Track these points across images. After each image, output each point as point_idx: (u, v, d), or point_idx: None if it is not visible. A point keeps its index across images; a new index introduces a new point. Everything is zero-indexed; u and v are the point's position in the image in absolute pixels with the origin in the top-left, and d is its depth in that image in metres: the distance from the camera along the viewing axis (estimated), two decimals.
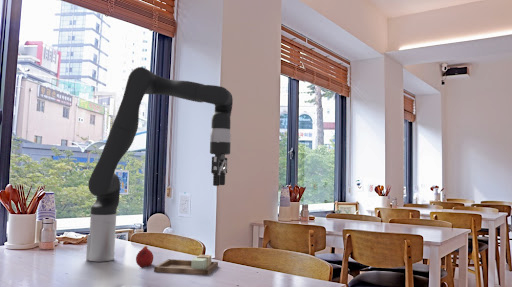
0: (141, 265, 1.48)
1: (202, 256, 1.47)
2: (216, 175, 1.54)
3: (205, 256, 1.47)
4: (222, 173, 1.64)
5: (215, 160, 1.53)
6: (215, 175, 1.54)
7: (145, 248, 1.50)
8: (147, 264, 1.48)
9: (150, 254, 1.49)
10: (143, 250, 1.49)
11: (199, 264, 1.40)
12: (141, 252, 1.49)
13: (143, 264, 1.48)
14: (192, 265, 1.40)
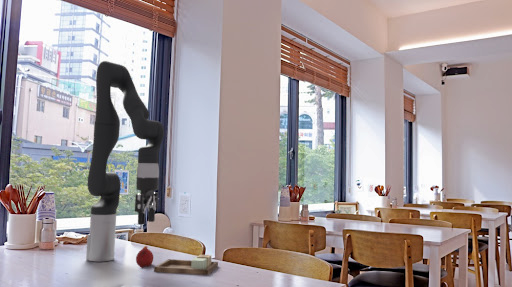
0: (141, 265, 1.48)
1: (202, 256, 1.47)
2: (141, 213, 1.46)
3: (205, 256, 1.47)
4: (151, 209, 1.55)
5: (139, 198, 1.45)
6: (139, 213, 1.46)
7: (145, 248, 1.50)
8: (147, 264, 1.48)
9: (150, 254, 1.49)
10: (143, 250, 1.49)
11: (199, 264, 1.40)
12: (141, 252, 1.49)
13: (143, 264, 1.48)
14: (192, 265, 1.40)
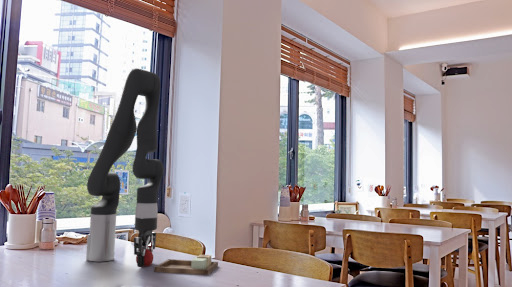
0: None
1: (202, 256, 1.47)
2: (140, 256, 1.46)
3: (205, 256, 1.47)
4: None
5: (137, 242, 1.44)
6: (139, 256, 1.46)
7: None
8: (147, 264, 1.48)
9: (150, 254, 1.49)
10: None
11: (199, 264, 1.40)
12: None
13: None
14: (192, 265, 1.40)
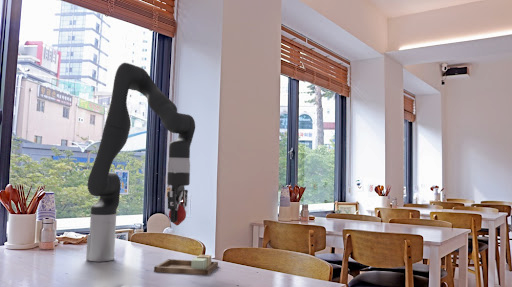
0: None
1: (202, 256, 1.47)
2: (173, 211, 1.43)
3: (205, 256, 1.47)
4: None
5: (171, 195, 1.41)
6: (172, 211, 1.43)
7: None
8: (180, 219, 1.46)
9: (183, 209, 1.46)
10: None
11: (199, 264, 1.40)
12: None
13: None
14: (192, 265, 1.40)
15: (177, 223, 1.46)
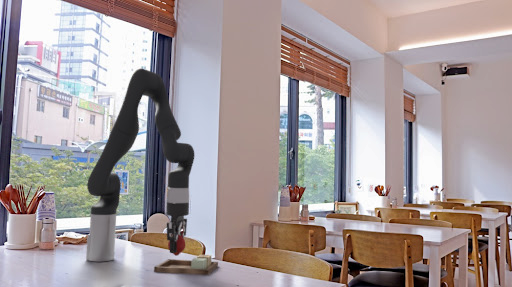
0: None
1: (202, 256, 1.47)
2: (173, 242, 1.43)
3: (205, 256, 1.47)
4: None
5: (170, 227, 1.41)
6: (172, 242, 1.43)
7: None
8: (180, 250, 1.45)
9: (182, 240, 1.46)
10: None
11: (199, 264, 1.40)
12: None
13: None
14: (192, 265, 1.40)
15: (176, 253, 1.46)
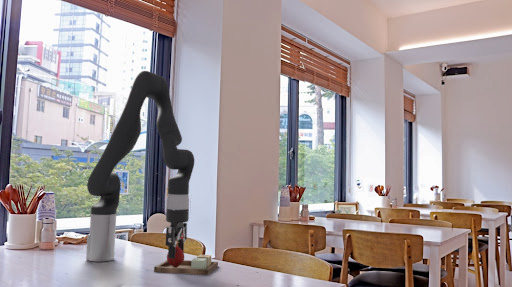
0: (173, 263, 1.44)
1: (202, 256, 1.47)
2: (171, 247, 1.41)
3: (205, 256, 1.47)
4: (180, 240, 1.51)
5: (170, 231, 1.40)
6: (170, 247, 1.41)
7: (176, 246, 1.46)
8: (179, 262, 1.45)
9: (181, 252, 1.46)
10: None
11: (199, 264, 1.40)
12: None
13: (174, 262, 1.44)
14: (192, 265, 1.40)
15: (176, 266, 1.45)
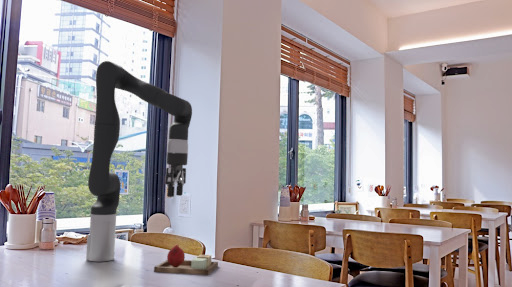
0: (173, 264, 1.44)
1: (202, 256, 1.47)
2: (170, 186, 1.54)
3: (205, 256, 1.47)
4: (180, 183, 1.64)
5: (169, 171, 1.53)
6: (169, 186, 1.54)
7: (176, 246, 1.46)
8: (179, 262, 1.45)
9: (181, 252, 1.46)
10: (175, 248, 1.46)
11: (199, 264, 1.40)
12: (173, 250, 1.45)
13: (175, 262, 1.44)
14: (192, 265, 1.40)
15: (176, 266, 1.45)
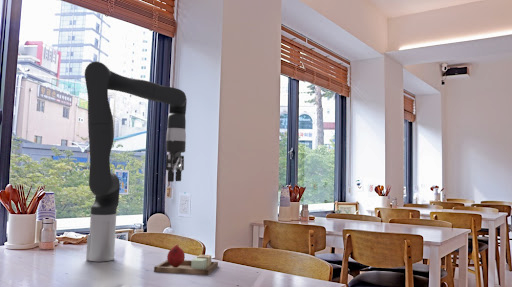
0: (173, 264, 1.44)
1: (202, 256, 1.47)
2: (170, 171, 1.65)
3: (205, 256, 1.47)
4: (178, 170, 1.75)
5: (169, 157, 1.64)
6: (169, 171, 1.65)
7: (176, 246, 1.46)
8: (179, 262, 1.45)
9: (181, 252, 1.46)
10: (175, 248, 1.46)
11: (199, 264, 1.40)
12: (173, 250, 1.45)
13: (175, 262, 1.44)
14: (192, 265, 1.40)
15: (176, 266, 1.45)
